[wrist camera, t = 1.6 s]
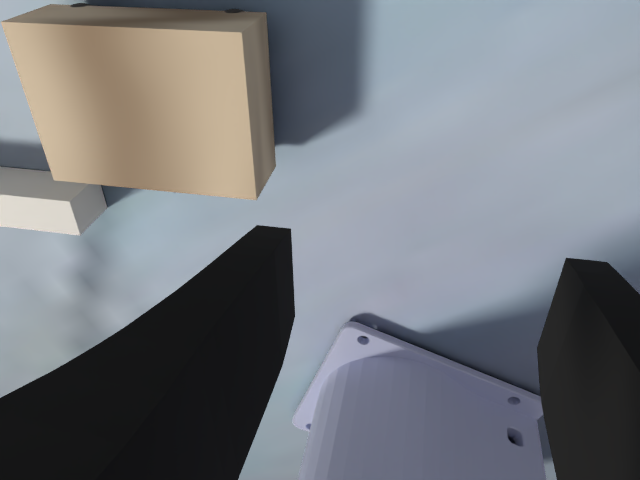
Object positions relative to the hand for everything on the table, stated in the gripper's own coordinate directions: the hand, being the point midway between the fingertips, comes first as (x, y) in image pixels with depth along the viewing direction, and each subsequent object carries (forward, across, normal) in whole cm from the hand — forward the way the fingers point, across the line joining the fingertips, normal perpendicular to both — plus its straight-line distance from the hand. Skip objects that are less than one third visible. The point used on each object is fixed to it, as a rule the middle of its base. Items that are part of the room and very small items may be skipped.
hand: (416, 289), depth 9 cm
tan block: (+9, +8, 0) cm, 13 cm away
